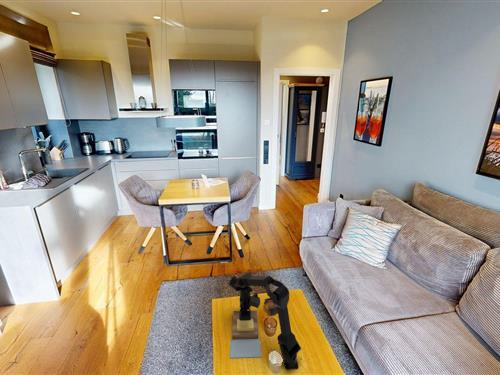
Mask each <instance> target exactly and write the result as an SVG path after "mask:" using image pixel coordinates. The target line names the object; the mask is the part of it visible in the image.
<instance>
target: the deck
mask: <svg viewBox="0 0 500 375" xmlns="http://www.w3.org/2000/svg"><path fill="white" fill-rule="evenodd" d="M232 312H233V315H232V316H233V317H232V331H231V335H232V339H231V340H238V339H259V324H258V323H259V322H258V310H257V309H254V310H253V309H251V319H253V325H254V331H237V319H239V312H240V310H233V311H232Z"/></svg>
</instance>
